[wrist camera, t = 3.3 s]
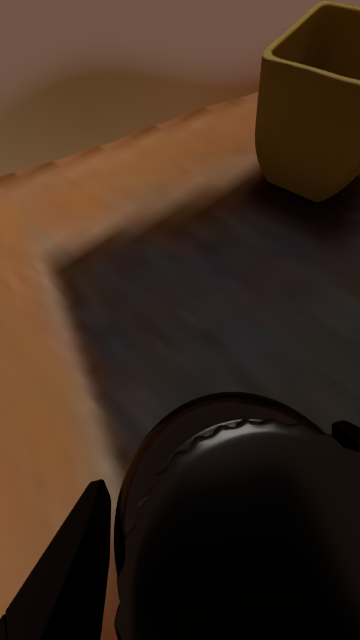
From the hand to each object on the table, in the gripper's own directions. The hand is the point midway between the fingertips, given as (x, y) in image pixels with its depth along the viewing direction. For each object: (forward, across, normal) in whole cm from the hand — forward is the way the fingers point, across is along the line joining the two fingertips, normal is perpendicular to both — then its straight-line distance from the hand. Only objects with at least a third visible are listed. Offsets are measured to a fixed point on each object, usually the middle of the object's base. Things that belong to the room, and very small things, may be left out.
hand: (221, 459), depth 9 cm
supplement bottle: (+4, 0, +6) cm, 7 cm away
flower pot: (+19, -14, -9) cm, 25 cm away
